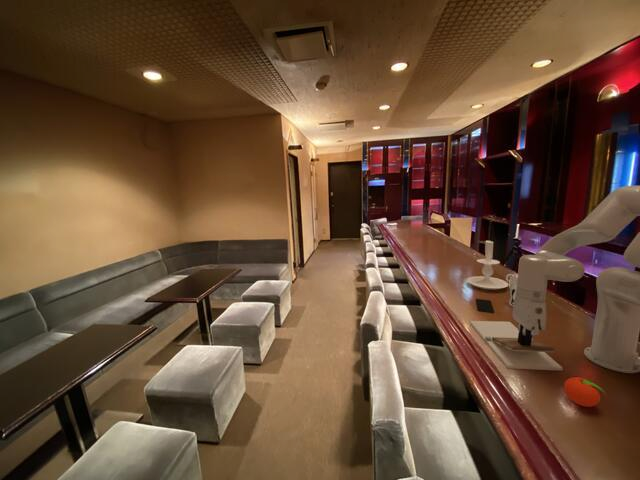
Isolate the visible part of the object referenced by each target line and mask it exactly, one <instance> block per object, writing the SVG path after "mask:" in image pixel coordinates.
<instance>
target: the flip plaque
mask: <svg viewBox="0 0 640 480" xmlns="http://www.w3.org/2000/svg"><path fill="white" fill-rule="evenodd" d="M533 340H534V339H533ZM533 340H532V341H531V345H530V346H525V345H520V343H518V338H498V337H492V341H494V342H496V343H498V344H500V345H502V346H504V347H506V348H508V349H510V350H512V351H531V352H545V353H555V348H554V347H551V346H548V345H546V344H543V343H541V342H538V341H535V340H534V341H533Z"/></svg>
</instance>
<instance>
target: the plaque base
mask: <svg viewBox="0 0 640 480" xmlns="http://www.w3.org/2000/svg"><path fill="white" fill-rule="evenodd" d="M469 325H471V326H472V328H473V329H474V330H475V331H476V333H477V334H478V335H479V336H480V337H481V339H482V340H483V339H484V340H485V341H484V340H483V341H484V342H485V343H486V345H487V346H488V345H489V346H488V348H490V349H491V350H492V352H493V351H494V352H495V353H494V352H493V353H494V354H495V355H496V357H497V358H498V357H499V358H498V359H499V360H500V361H501V363H502V364H503V365H504V366H505V367H506V368H507V369H512V370H513V369H514V370H516V369H519V370H534V371H535V370H539V371H540V370H541V371H558V372H559V371H563V367H562V366H561V365H560V364H559V363H557V361H556V360H554V358H552V357H551V356H550V355H549V354H547V352H531V351H512V350H510V349H508V348H506V347H504V346H502V345H500V344H498V343H496V342H494V341H492V337H498V338H518V334H519V331H518V327H516V326H515V325H514V324H513V323H512V322H510V321H497V320H496V321H494V320H492V321H491V320H490V321H489V320H488V321H487V320H486V321H485V320H484V321H482V320H469ZM532 340H533V341H535V340H534V338H533V337H532Z"/></svg>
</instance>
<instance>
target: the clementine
mask: <svg viewBox="0 0 640 480" xmlns="http://www.w3.org/2000/svg"><path fill="white" fill-rule="evenodd" d="M563 390H564V392H565V394H566V396H567V397H568V398H569V400H570V401H572V402H573V403H575V404H577V405H579V406H582V407H587V408H591V407H596V405H598V403H600V400H601V395H600V394H601V393H600V392H599V390H601V391H602V392H603V393H604V395H605V397H607V394H606V393H605V391H604V389H602V388H601V387H600V386H598V385H597V384H595V383H593V382H591V381H589V380H587V379H586V378H583V377H576V376H575V377H570V378H567V379H566V380H565V382H564V384H563Z"/></svg>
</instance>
